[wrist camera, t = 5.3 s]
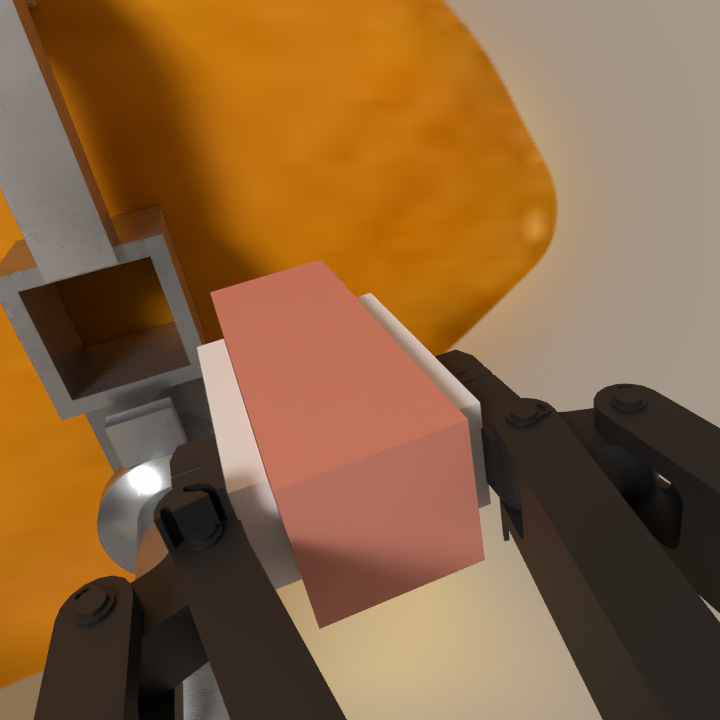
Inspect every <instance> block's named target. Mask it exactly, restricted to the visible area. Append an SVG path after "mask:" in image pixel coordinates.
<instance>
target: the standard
mask: <svg viewBox="0 0 720 720" xmlns="http://www.w3.org/2000/svg"><path fill="white" fill-rule="evenodd" d="M85 415H86V417H87V419H88V421H89V423H90V425H91V427H92V429H93V431H94V433H95V435H96V437H97V439H98V441H99V443H100V445H101V447H102V449H103V451H104V453H105V455H106V457H107V459H108V461H109V463H110V465H111V467H112V469H113V471H114V473H115V474H114V475H113V476H112V477H111V479H110V480H109V481H108V483H107V484H106V486H105V489H104V491H103V493H102V496H101V499H100V504H99V513H98V521H97V527H98V535H99V539H100V542H101V544H102V546H103V548H104V550H105V551H106V553H107V554H108V556H109V557H110V558H111V559H112V560H113V561H114V562H115V563H117V564H118V565H119V566H121V567H122V568H124V569H125V570H127V571H129V572H131V573H134V574H136V579H138V578H139V577H141V576H143V575H144V574H146V573H147V572H149V571H150V570H151V569H153V568H154V567H155V566H157V565H158V564H159V563H160V562H161V561H162V560H163V559H164V558H165V557H166V555H167V554H168V552H169V551H168V549H167V547H166V545H165V543H164V541H163V539H162V537H161V535H160V533H159V531H158V529H157V527H156V525H155V523H154V510H155V508H156V506H157V504H158V502H159V501H160V500H161V499H162V498H163V497H164V496H165V495H166V494H167V493H168V492H169V491H171V490H172V485H171V473H170V460H171V458H172V456H173V454H174V452H175V450H176V448H177V446H179V445H182V444H185V443H188V442H191V441H194V440H196V439H199V438H202V437H205V436H208V435H211V434H214V433H215V431H214V427H213V422H212V417H211V412H210V407H209V403H208V398H207V393H206V388H205V384H204V379H203V377H201V378H197V379H194V380H191V381H188V382H184V383H181V384H178V385H175V386H171V387H168V388H165V389H162V390H158V391H155V392H152V393H149V394H145V395H142V396H139V397H136V398H132V399H129V400H126V401H123V402H119V403H116V404H113V405H110V406H106V407H103V408H100V409H97V410H93V411H90V412H87V413H85ZM183 697H184V720H230V718H229V715H228V712H227V709H226V707H225V704H224V701H223V698H222V696H221V693H220V690H219V687H218V685H217V682H216V679H215V677H214V674H213V671H212V668H211V666H210V663H209V662H208V663H206V664H205V665H204V666H202V667H201V668H200V669H198V670H197V671H196V672H194V673H193V674H192V675H190V676H189V677H188V678H186V679H185V680H184V681H183Z"/></svg>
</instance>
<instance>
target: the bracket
mask: <svg viewBox="0 0 720 720" xmlns="http://www.w3.org/2000/svg"><path fill="white" fill-rule="evenodd" d="M37 6H39V5H38V3H37V0H0V188H1V190H2V192H3V194H4V196H5V198H6V201H7V203H8V205H9V207H10V209H11V211H12V213H13V215H14V217H15V220H16V222H17V224H18V226H19V228H20V230H21V232H22V234H23V236H24V239H25V240H21V241H17V242H15V244H14V245H13V247H12V248H11V249H10V251H9V252H8V253H7V255H6V256H5V258H4V259H3V260H2V262H1V263H0V303H1V305H2V306H3V308H4V310H5V312H6V314H7V316H8V318H9V320H10V322H11V324H12V326H13V328H14V329H15V331H16V333H17V335H18V337H19V339H20V341H21V343H22V345H23V347H24V349H25V350H26V352H27V354H28V356H29V358H30V360H31V362H32V364H33V366H34V368H35V370H36V371H37V373H38V375H39V377H40V379H41V381H42V383H43V385H44V387H45V389H46V391H47V393H48V394H49V396H50V398H51V400H52V402H53V404H54V406H55V408H56V410H57V412H58V414H59V415H60V417H61V419H62V420H64V419H67V418H71V417H74V416H77V415H80V414H84V413H87V412H90V411H93V410H97V409H100V408H103V407H106V406H110V405H113V404H116V403H119V402H123V401H126V400H129V399H132V398H136V397H139V396H142V395H145V394H149V393H152V392H155V391H158V390H162V389H165V388H168V387H171V386H175V385H178V384H181V383H184V382H188V381H191V380H194V379H197V378H201V377H203V374H202V369H201V365H200V360H199V355H198V350H197V347H199V346H202V345H205V344H206V341H205V336H204V331H203V326H202V323H201V320H200V318H199V315H198V312H197V309H196V306H195V303H194V300H193V298H192V295H191V292H190V289H189V286H188V283H187V280H186V277H185V275H184V272H183V269H182V266H181V263H180V260H179V257H178V254H177V252H176V249H175V246H174V243H173V240H172V237H171V234H170V231H169V229H168V226H167V223H166V220H165V217H164V214H163V211H162V208H161V206H160V205H159V206H155V207H151V208H147V209H143V210H139V211H135V212H131V213H127V214H123V215H119V216H115V217H111V218H110V215H109V213H108V210H107V208H106V205H105V203H104V200H103V198H102V195H101V192H100V190H99V187H98V185H97V182H96V180H95V177H94V175H93V172H92V170H91V167H90V165H89V162H88V159H87V157H86V154H85V152H84V149H83V147H82V144H81V142H80V139H79V137H78V134H77V131H76V129H75V126H74V124H73V121H72V119H71V116H70V114H69V111H68V109H67V106H66V104H65V101H64V98H63V96H62V93H61V91H60V88H59V86H58V83H57V81H56V78H55V76H54V73H53V71H52V68H51V65H50V63H49V60H48V58H47V55H46V53H45V50H44V48H43V45H42V43H41V40H40V37H39V35H38V32H37V30H36V27H35V25H34V22H33V20H32V17H31V15H30V12H29V10H28V8H31V7H37ZM146 257H151V259H152V262H153V265H154V267H155V270H156V273H157V275H158V278H159V281H160V284H161V286H162V289H163V292H164V294H165V297H166V300H167V302H168V305H169V308H170V310H171V313H172V316H173V318H174V321H175V322H172V323H169V324H165V325H162V326H159V327H155V328H152V329H148V330H145V331H141V332H138V333H134V334H131V335H127V336H124V337H120V338H117V339H114V340H110V341H107V342H103V343H100V344H96V345H93V346H89V347H86V348H84V347H83V344H82V342H81V340H80V338H79V336H78V334H77V332H76V329H75V327H74V325H73V323H72V321H71V319H70V317H69V314H68V312H67V310H66V308H65V306H64V304H63V302H62V299H61V297H60V295H59V293H58V291H57V289H56V287H55V284H54V282H57V281H61V280H64V279H68V278H72V277H75V276H79V275H83V274H87V273H90V272H94V271H98V270H102V269H105V268H109V267H113V266H116V265H120V264H124V263H128V262H131V261H135V260H139V259H143V258H146Z"/></svg>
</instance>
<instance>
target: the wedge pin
mask: <svg viewBox="0 0 720 720" xmlns="http://www.w3.org/2000/svg"><path fill="white" fill-rule="evenodd" d="M210 294H211V297H212V300H213V303H214V307H215V310H216V313H217V316H218V319H219V323H220V326H221V329H222V332H223V335H224V339H225V342H226V345H227V348H228V351H229V354H230V358H231V361H232V364H233V367H234V370H235V374H236V377H237V380H238V383H239V386H240V390H241V393H242V396H243V399H244V402H245V405H246V409H247V412H248V415H249V418H250V421H251V425H252V428H253V431H254V434H255V437H256V441H257V444H258V447H259V450H260V453H261V456H262V460H263V463H264V466H265V469H266V472H267V476H268V479H269V482H270V485H271V488H272V491H273V494H274V497H275V500H276V503H277V506H278V509H279V512H280V515H281V518H282V521H283V524H284V527H285V529H286V532H287V535H288V538H289V541H290V544H291V547H292V550H293V553H294V556H295V559H296V562H297V564H298V567H299V570H300V573H301V576H302V579H303V582H304V585H305V588H306V591H307V594H308V596H309V600H310V602H311V605H312V608H313V611H314V614H315V617H316V620H317V623H318V626H319V628H322V627H325V626H327V625H330V624H332V623H334V622H337V621H339V620H341V619H344V618H346V617H348V616H351V615H354V614H356V613H358V612H361V611H363V610H366V609H368V608H370V607H373V606H375V605H378V604H380V603H382V602H385V601H387V600H390V599H392V598H394V597H397V596H399V595H401V594H404V593H406V592H409V591H411V590H413V589H416V588H418V587H421V586H423V585H425V584H427V583H430V582H433V581H435V580H437V579H440V578H442V577H445V576H447V575H449V574H452V573H454V572H457V571H459V570H461V569H464V568H466V567H468V566H471V565H473V564H476V563H478V562H480V561H483V560H484V551H483V543H482V534H481V526H480V517H479V509H478V500H477V492H476V483H475V475H474V467H473V458H472V450H471V442H470V433H469V425H468V419H467V418H466V417H465V416H464V415H463V414H462V413H461V411H460V410H459V409H458V408H457V407H456V406H455V405H454V404H453V403H452V402H451V401H450V399H449V398H448V397H447V396H446V395H445V394H444V393H443V392H442V391H441V390H440V389H439V387H438V386H437V385H436V384H435V383H434V382H433V381H432V380H431V379H430V378H429V377H428V375H427V374H426V373H425V372H424V371H423V370H422V369H421V368H420V367H419V366H418V365H417V363H416V362H415V361H414V360H413V359H412V358H411V357H410V356H409V355H408V354H407V353H406V351H405V350H404V349H403V348H402V347H401V346H400V345H399V344H398V343H397V342H396V341H395V340H394V338H393V337H392V336H391V335H390V334H389V333H388V332H387V331H386V330H385V329H384V328H383V326H382V325H381V324H380V323H379V322H378V321H377V320H376V319H375V318H374V317H373V316H372V314H371V313H370V312H369V311H368V310H367V309H366V308H365V307H364V306H363V305H362V304H361V302H360V301H359V300H358V299H357V298H356V297H355V296H354V295H353V294H352V293H351V292H350V290H349V289H348V288H347V287H346V286H345V285H344V284H343V283H342V282H341V281H340V280H339V278H338V277H337V276H336V275H335V274H334V273H333V272H332V271H331V270H330V269H329V268H328V266H327V265H326V264H325V263H324V262H323V261H322V260H318V261H314V262H311V263H307V264H304V265H301V266H297V267H294V268H291V269H287V270H284V271H280V272H277V273H274V274H270V275H267V276H263V277H260V278H257V279H253V280H250V281H247V282H243V283H240V284H236V285H233V286H230V287H226V288H223V289H220V290H216V291H213V292H210Z"/></svg>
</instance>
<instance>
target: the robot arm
mask: <svg viewBox="0 0 720 720" xmlns="http://www.w3.org/2000/svg"><path fill="white" fill-rule="evenodd" d="M356 298H357V299H358V300H359V301H360V302H361V304H362V305H363V306H364V307H365V308H366V309H367V310H368V311H369V312H370V313H371V314H372V316H373V317H374V318H375V319H376V320H377V321H378V322H379V323H380V324H381V325H382V326H383V328H384V329H385V330H386V331H387V332H388V333H389V334H390V335H391V336H392V337H393V338H394V340H395V341H396V342H397V343H398V344H399V345H400V346H401V347H402V348H403V349H404V350H405V351H406V353H407V354H408V355H409V356H410V357H411V358H412V359H413V360H414V361H415V362H416V363H417V365H418V366H419V367H420V368H421V369H422V370H423V371H424V372H425V373H426V374H427V375H428V377H429V378H430V379H431V380H432V381H433V382H434V383H435V384H436V385H437V386H438V387H439V389H440V390H441V391H442V392H443V393H444V394H445V395H446V396H447V397H448V398H449V399H450V401H451V402H452V403H453V404H454V405H455V406H456V407H457V408H458V409H459V410H460V411H461V413H462V414H463V415H464V416H465V417H466V418H467V419H468V425H469V433H470V442H471V450H472V458H473V467H474V475H475V483H476V492H477V500H478V509H479V508H481V507H483V506H486V505H488V504H490V493H489V485H490V486H491V487H492V488H493V490H494V491H495V492H496V493H497V495H498V496H499V497H500V508H501V518H502V529H503V536H504V540H505V541H507V540H509V531H510V533H511V535H512V537H513V539H514V541H515V543H516V545H517V547H518V549H519V551H520V553H521V555H522V557H523V559H524V561H525V563H526V565H527V567H528V569H529V571H530V573H531V575H532V577H533V579H534V581H535V583H536V585H537V587H538V590H539V591H540V593H541V596H542V598H543V600H544V602H545V604H546V606H547V608H548V610H549V612H550V614H551V616H552V618H553V620H554V622H555V624H556V626H557V628H558V630H559V632H560V634H561V636H562V638H563V640H564V642H565V644H566V646H567V648H568V650H569V652H570V654H571V656H572V658H573V660H574V662H575V665H576V667H577V668H578V670H579V673H580V675H581V677H582V678H583V681H584V682H585V685H586V687H587V689H588V691H589V693H590V695H591V697H592V699H593V701H594V703H595V705H596V707H597V709H598V711H599V713H600V715H601V717H602V719H603V720H720V622H719V621H718V620H717V618H716V617H715V616H714V614H713V613H712V612H711V611H710V609H709V608H708V607H707V605H706V604H705V603H704V601H703V600H702V599H701V598H700V596H701V597H702V598H703V599H704V600H705V601H706V602H708V603H709V604H710V605H711V606H712V607H713V608H714V609H716V610H717V611H718V612H719V613H720V428H719V427H717V426H715V425H713V424H712V423H710V422H708V421H706V420H705V419H703V418H701V417H699V416H698V415H696V414H694V413H693V412H691V411H689V410H687V409H686V408H684V407H682V406H680V405H679V404H677V403H675V402H673V401H672V400H670V399H668V398H667V397H665V396H663V395H661V394H660V393H658V392H656V391H655V390H652V389H650V388H647V387H645V386H641V385H635V384H615V385H612V386H608V387H605V388H604V389H602V390H600V391H599V392H597V394H596V396H595V398H594V408H591V409H584V410H577V411H569V412H557V411H556V410H555V409H554V408H553V407H552V406H551V405H549V404H548V403H546V402H543V401H541V400H538V399H531V398H520V397H519V396H518V395H516V393H514V392H513V391H512V390H511V389H510V388H509V387H508V386H506V385H505V384H504V383H503V382H502V381H501V380H500V379H499V378H497V377H496V376H495V375H493V374H492V372H491V371H490V370H488V369H487V368H486V367H484V366H483V364H482V363H480V362H479V361H478V360H477V359H476V358H475V357H474V356H472V355H470V354H467V353H464V352H461V351H458V350H453V351H450V352H447V353H444V354H441V355H438V356H435V357H434V356H433V355H432V354H431V353H430V352H429V351H428V350H427V349H426V348H425V347H424V346H423V345H422V344H421V343H420V342H419V341H418V340H417V339H416V338H415V337H414V336H413V335H412V334H411V333H410V332H409V331H408V330H407V329H406V328H405V327H404V326H403V325H402V324H401V323H400V322H399V321H398V320H397V319H396V318H395V317H394V316H393V315H392V314H391V313H390V312H389V311H388V310H387V309H386V308H385V307H384V306H383V305H382V304H381V303H380V302H379V301H378V300H377V299H376V298H375V297H374V296H373V295H372V294H371V293H369V294H366V295H362V296H359V297H356ZM197 350H198V355H199V360H200V365H201V369H202V374H203V379H204V384H205V388H206V393H207V398H208V403H209V407H210V412H211V417H212V422H213V427H214V431H215V433H214V434H211V435H208V436H205V437H202V438H199V439H196V440H194V441H191V442H188V443H185V444H182V445H179V446H177V448H176V450H175V452H174V454H173V456H172V458H171V460H170V473H171V485H172V490H171V491H169V492H168V493H167V494H166V495H165V496H164V497H163V498H162V499H161V500H160V501H159V502H158V504H157V506H156V508H155V510H154V523H155V525H156V527H157V529H158V531H159V533H160V535H161V537H162V539H163V541H164V543H165V545H166V547H167V549H168V551H169V552H168V554H167V555H166V557H165V558H164V559H163V560H162V561H161V562H160V563H159V564H158V565H157V566H155V567H154V568H153V569H151V570H150V571H149V572H147V573H146V574H144V575H143V576H141V577H139V578H138V579H136V580H135V581H133V582H132V583H129V582H128V581H127V580H126V579H125V578H123V577H117V576H108V577H103V578H98V579H96V580H94V581H92V582H90V583H88V584H86V585H84V586H82V587H81V588H80V589H78V590H77V591H76V592H75V593H73V594H72V595H71V596H70V597H69V598H68V599H67V601H66V602H65V603H64V604H63V605H62V607H61V608H60V610H59V612H58V615H57V617H56V619H55V623H54V627H53V632H52V637H51V641H50V646H49V651H48V655H47V660H46V665H45V669H44V674H43V679H42V684H41V688H40V693H39V698H38V702H37V707H36V712H35V717H34V720H184V697H183V681H184V680H185V679H186V678H188V677H189V676H190V675H192V674H193V673H194V672H196V671H197V670H198V669H200V668H201V667H202V666H204V665H205V664H206V663H208V662H209V663H210V666H211V668H212V671H213V674H214V677H215V679H216V682H217V685H218V687H219V690H220V693H221V696H222V698H223V701H224V704H225V707H226V709H227V712H228V715H229V718H230V720H347V719H346V718H345V716H344V714H343V712H342V710H341V709H340V707H339V705H338V703H337V701H336V699H335V697H334V696H333V694H332V692H331V690H330V688H329V687H328V685H327V683H326V681H325V679H324V677H323V676H322V674H321V672H320V670H319V668H318V667H317V665H316V663H315V661H314V659H313V657H312V656H311V654H310V652H309V650H308V648H307V647H306V645H305V643H304V641H303V639H302V638H301V636H300V634H299V632H298V630H297V628H296V627H295V625H294V623H293V621H292V619H291V617H290V616H289V614H288V612H287V610H286V608H285V607H284V605H283V603H282V601H281V599H280V598H279V596H278V594H277V592H276V589H278V588H280V587H283V586H285V585H288V584H291V583H293V582H296V581H298V580H301V579H302V578H301V574H300V571H299V568H298V565H297V562H296V559H295V556H294V553H293V550H292V547H291V544H290V541H289V538H288V535H287V532H286V529H285V527H284V524H283V521H282V518H281V515H280V512H279V509H278V506H277V503H276V500H275V497H274V494H273V491H272V488H271V485H270V482H269V479H268V476H267V472H266V469H265V466H264V463H263V460H262V456H261V453H260V450H259V447H258V444H257V441H256V437H255V434H254V431H253V428H252V425H251V421H250V418H249V415H248V412H247V409H246V405H245V402H244V399H243V396H242V393H241V390H240V386H239V383H238V380H237V377H236V374H235V370H234V367H233V364H232V361H231V358H230V355H229V353H228V350H227V347H226V344H225V341H224V339H221V340H218V341H215V342H212V343H208V344H205V345H202V346H199V347H197ZM659 474H660V475H662V476H663V477H664V478H665V479H667V480H668V481H669V482H670V483H671V484H669V483H667V482H665V481H664V480H663V479H661V478H660V477H659ZM699 595H700V596H699Z"/></svg>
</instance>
